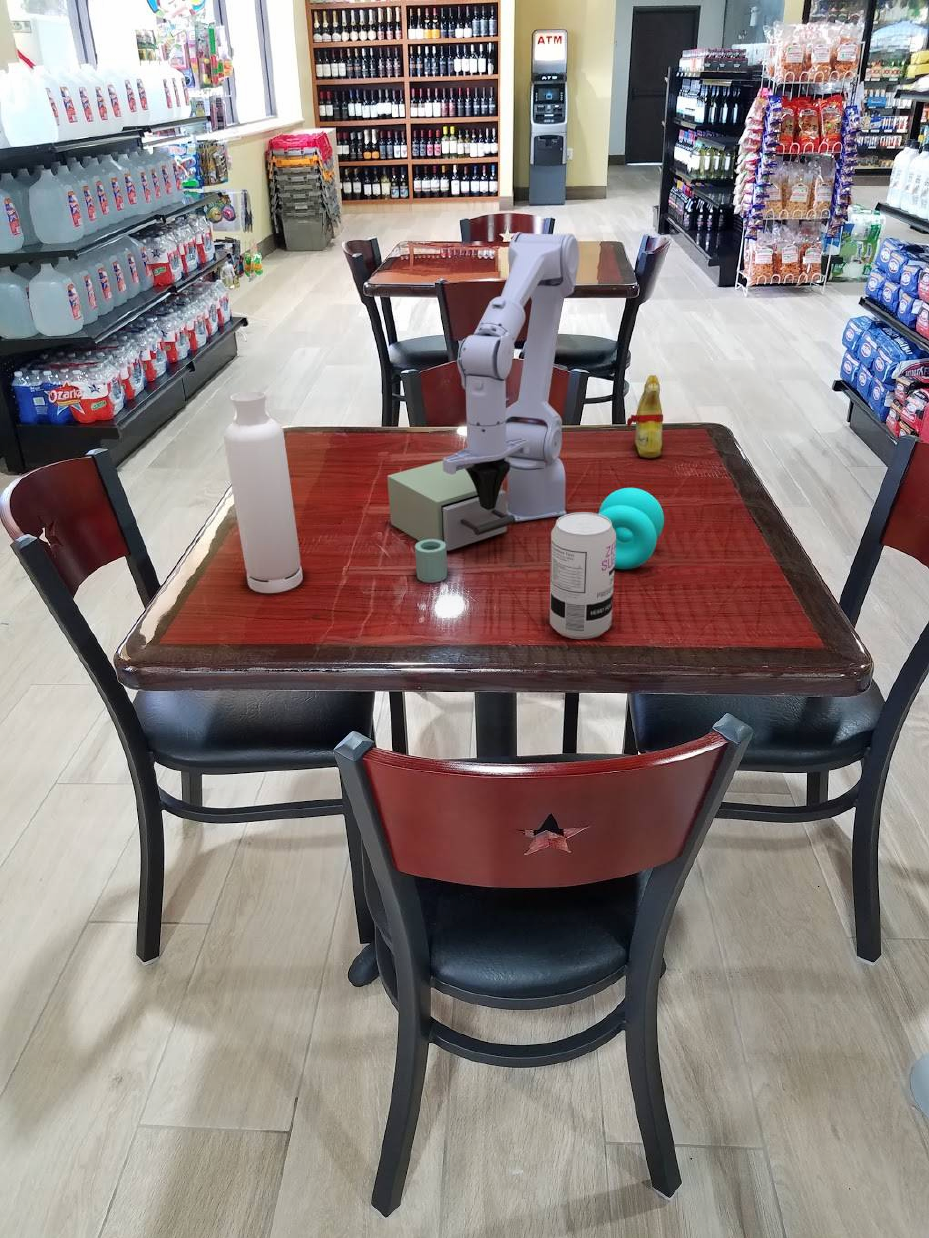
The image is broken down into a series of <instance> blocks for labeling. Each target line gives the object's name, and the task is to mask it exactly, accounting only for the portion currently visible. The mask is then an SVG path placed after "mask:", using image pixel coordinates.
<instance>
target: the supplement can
mask: <svg viewBox="0 0 929 1238" xmlns="http://www.w3.org/2000/svg"><path fill="white" fill-rule="evenodd" d="M615 548H616V532H615V530H614V528H613V526H612V524H611V521H610V520H609V519H608V518H607V517H605V516H603V515H600V514H599V513H596V512H589V511H587V512H586V511H581V512H580V511H579V512H577V511H576V512H571V513H566V515H562V516H559V517H558V519H556V522H555V525H554V527H553V528H552V530H551V532H550V580H549V581H550V582H549V583H550V586H549V588H550V591H549V594H550V596H549V624H550V626H551V627H552V628H553V630H555V631H556V633H558V634H559V635H561V636H563V637H566V638H569V639H575V640H590V639H593V638H597V637H600V636H602V635H603V634H605V632H607V631H608V630H609V629H610V627H611V626H612V621H613V620H612V619H613V601H614V585H615V584H614V583H615V582H614V581H615V568H614V566H615Z"/></svg>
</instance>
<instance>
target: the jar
mask: <svg viewBox="0 0 929 1238" xmlns="http://www.w3.org/2000/svg"><path fill="white" fill-rule="evenodd" d="M414 553H415V554H414V555H415V570H416V578H417V579H418V581H421V582H423V583H431V584H433V583H439V582H442V581H445V579H447V577H448V556H447V555H448V554H447V551H446V544H445V542H443V541H441V540H436V539H427V540H423V541H418V542H416V543H415V545H414Z"/></svg>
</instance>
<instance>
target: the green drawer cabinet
mask: <svg viewBox="0 0 929 1238" xmlns="http://www.w3.org/2000/svg"><path fill="white" fill-rule="evenodd" d="M386 477H387V490H388V503H389V504H388V505H389V515H390V516H389V517H390V518H389V519H390V525H391V526H394V527H396V528H397V529H399V531H402V532H403V533H405V534H407V535H409V536H410V537H412V538H414V539H415V540H417V541H418V542H420V541H423V540H427V539H436V540H441V541H443V526H442V505H446V504H449V503H452V502H456V501H459V500H462V499H466V498H469V497H472V496H475V495H478V494H477V491H476V488H475V486H474V483H473V481H472V479H471V477H470V476H469V474H468V472H467V471H466V469H462V470H458V471H456V473H455V474H449V473H446V472H444V471H443V460H441V461H440V460H439V461H435V462H433V463H429V464H425V465H421V466H416V467H413V468H410V469H406V470H402V471H400V472H396V473H391V474H388V475H386ZM500 490H503V491H504V482H503V483H502V485H501V488H500ZM447 551H449V550H447V549H446V552H447Z"/></svg>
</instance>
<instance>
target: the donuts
mask: <svg viewBox="0 0 929 1238" xmlns="http://www.w3.org/2000/svg"><path fill="white" fill-rule="evenodd" d="M598 514H600V515H603V516H605V517H607V518H608V519H609V520H610V521H611V524H612V526H613V528H614V530H615V532H616V548H615V566H614V569H616V570H632V569H635V568H639V567H640V566H642V565H643V564H645V563H646V562H647V561H648V560H650V558H651V557H652V556H653V554H654V552H655V549H656V547H657V541H658V540H657V539H658V538H659V537H660V535H661V534H662V532H663V528H664V524H665V514H664V511H663V508H662V505H661V504H660V503H659V501H658V500H657V498H656V497H654V496H653V495H652V494H651V493H649V491H646V490H643V489H641V488H636V487H624V488H620V489H617V490H615V491H613V492H611V493H610V494H609V495H608V496H606V497H605V499H604V500H603V501H602V503H601V505H600V507H599V511H598Z"/></svg>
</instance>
